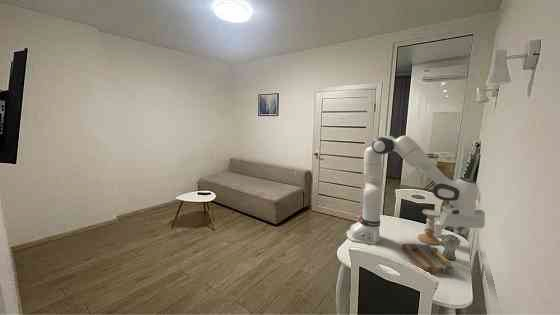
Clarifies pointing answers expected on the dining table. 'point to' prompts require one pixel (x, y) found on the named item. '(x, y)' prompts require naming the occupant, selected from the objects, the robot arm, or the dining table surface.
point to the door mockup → (426, 259)
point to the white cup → (437, 228)
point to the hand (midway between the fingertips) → (459, 234)
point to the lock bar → (440, 257)
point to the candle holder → (429, 228)
